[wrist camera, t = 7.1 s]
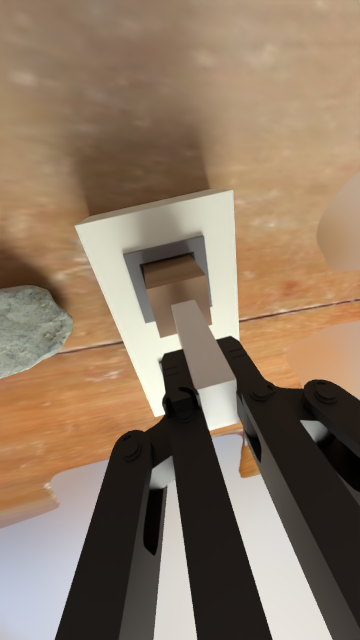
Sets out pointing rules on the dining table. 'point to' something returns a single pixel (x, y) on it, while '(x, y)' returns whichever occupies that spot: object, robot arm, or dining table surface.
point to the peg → (175, 289)
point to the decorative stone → (30, 328)
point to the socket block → (154, 244)
